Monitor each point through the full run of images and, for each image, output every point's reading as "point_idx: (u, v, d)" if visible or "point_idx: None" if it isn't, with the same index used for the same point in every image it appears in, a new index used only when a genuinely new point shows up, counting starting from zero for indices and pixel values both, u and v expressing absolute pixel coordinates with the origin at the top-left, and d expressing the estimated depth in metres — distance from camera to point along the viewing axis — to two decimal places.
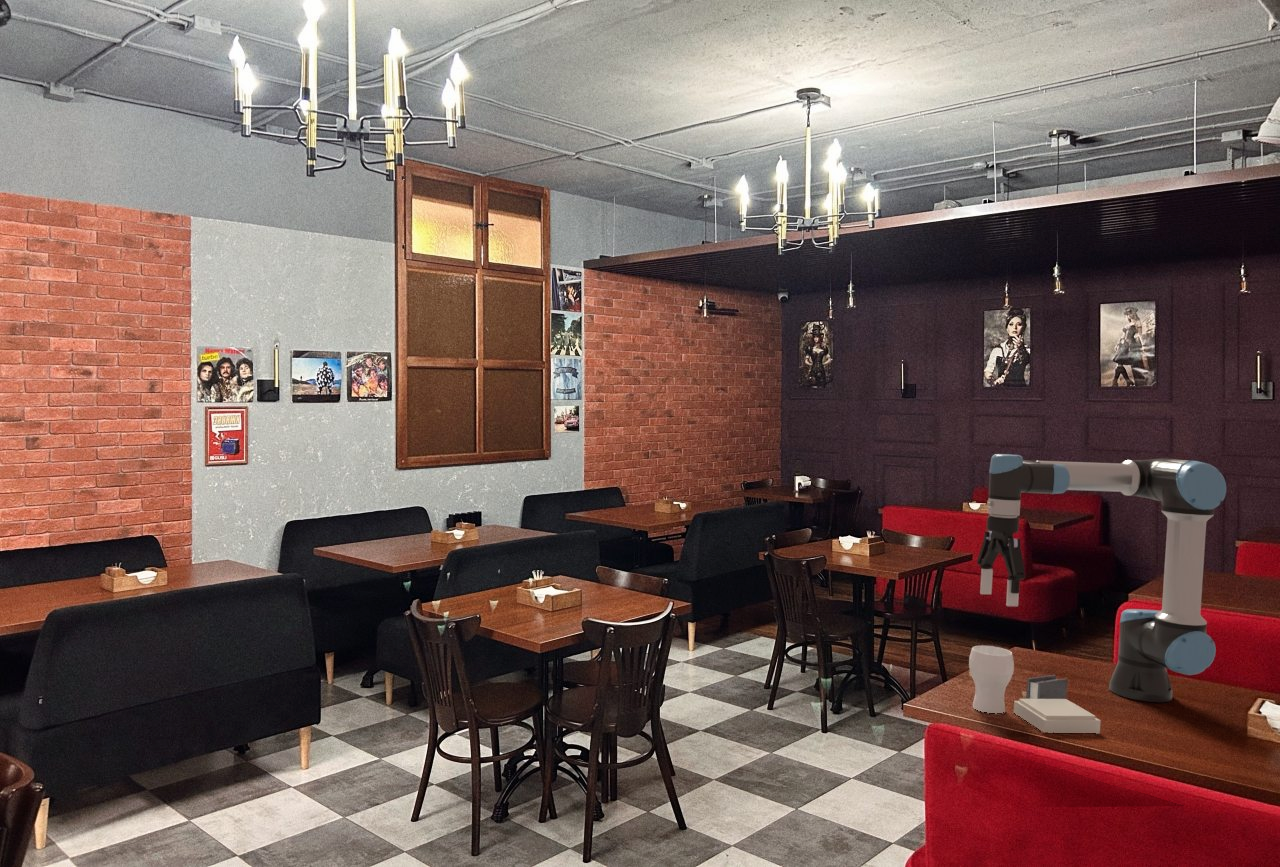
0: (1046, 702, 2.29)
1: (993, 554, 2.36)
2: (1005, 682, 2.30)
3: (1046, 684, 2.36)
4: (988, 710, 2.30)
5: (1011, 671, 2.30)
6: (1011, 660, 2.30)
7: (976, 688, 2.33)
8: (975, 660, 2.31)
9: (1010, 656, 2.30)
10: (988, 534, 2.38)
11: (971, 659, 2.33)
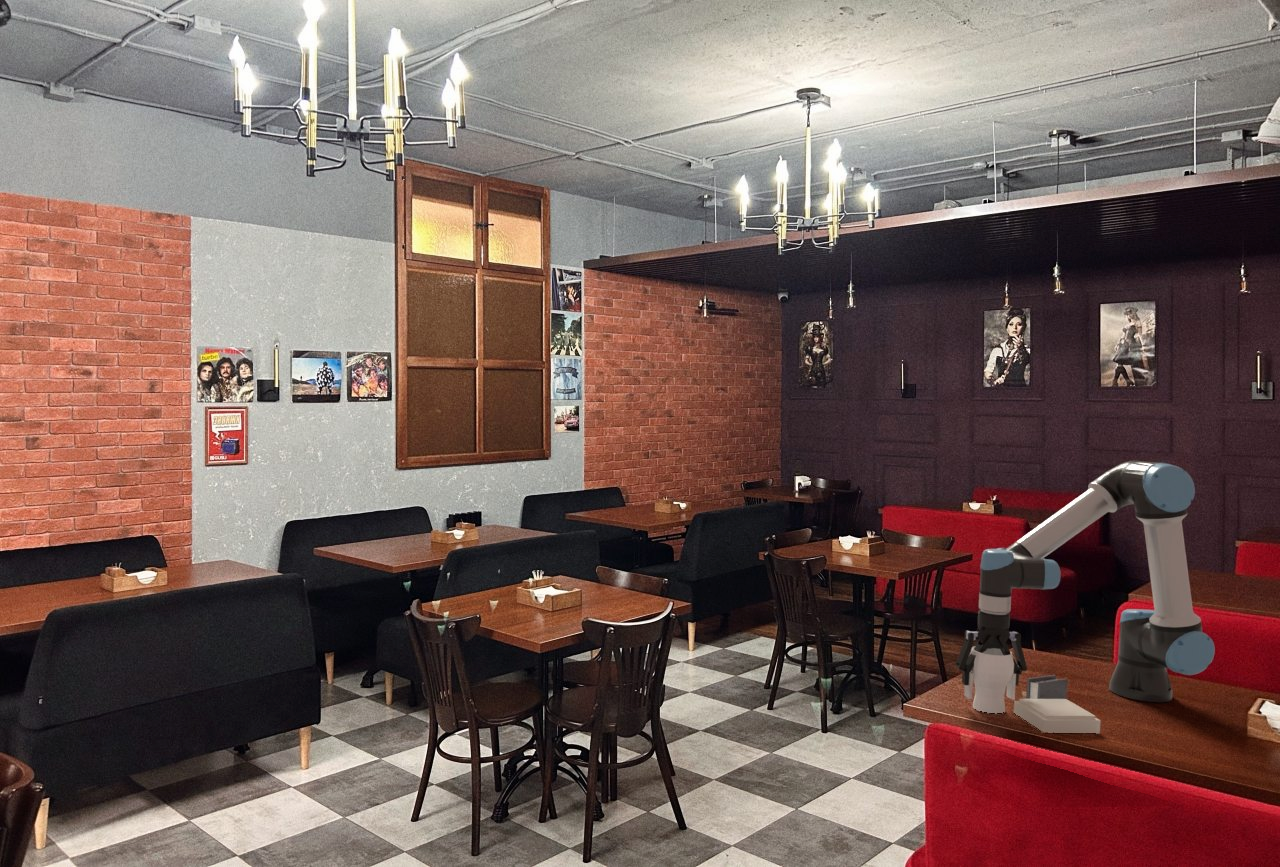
0: (1046, 702, 2.29)
1: (1004, 653, 2.34)
2: (1005, 682, 2.30)
3: (1046, 684, 2.36)
4: (988, 710, 2.30)
5: (1011, 671, 2.30)
6: (1011, 660, 2.30)
7: (976, 688, 2.33)
8: (975, 660, 2.31)
9: (1010, 656, 2.30)
10: None
11: None
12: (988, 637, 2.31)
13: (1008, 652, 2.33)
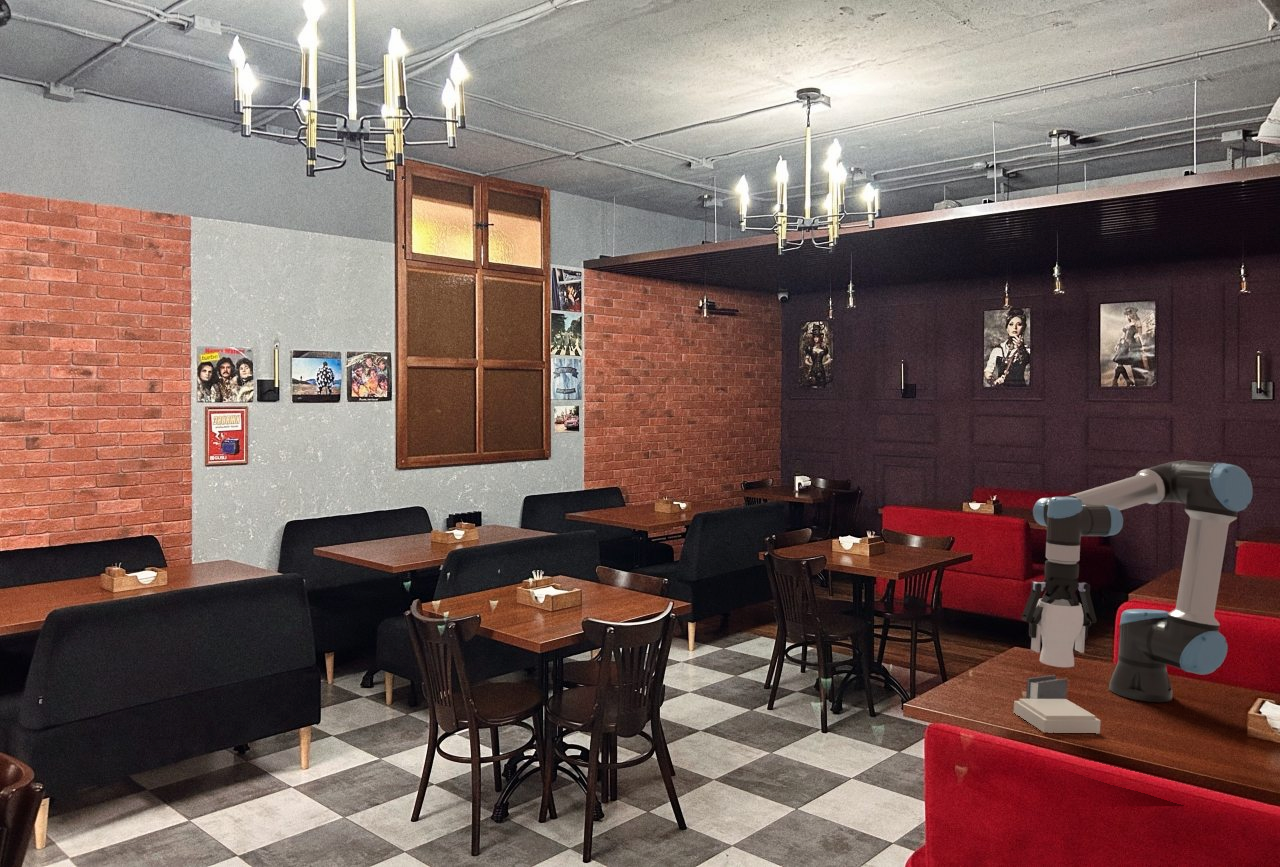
0: (1046, 702, 2.29)
1: (1072, 605, 2.25)
2: (1075, 634, 2.21)
3: (1046, 684, 2.36)
4: (1057, 663, 2.22)
5: (1081, 622, 2.21)
6: (1081, 611, 2.21)
7: (1043, 641, 2.25)
8: (1043, 612, 2.23)
9: (1080, 607, 2.21)
10: None
11: None
12: (1056, 588, 2.23)
13: (1077, 603, 2.24)
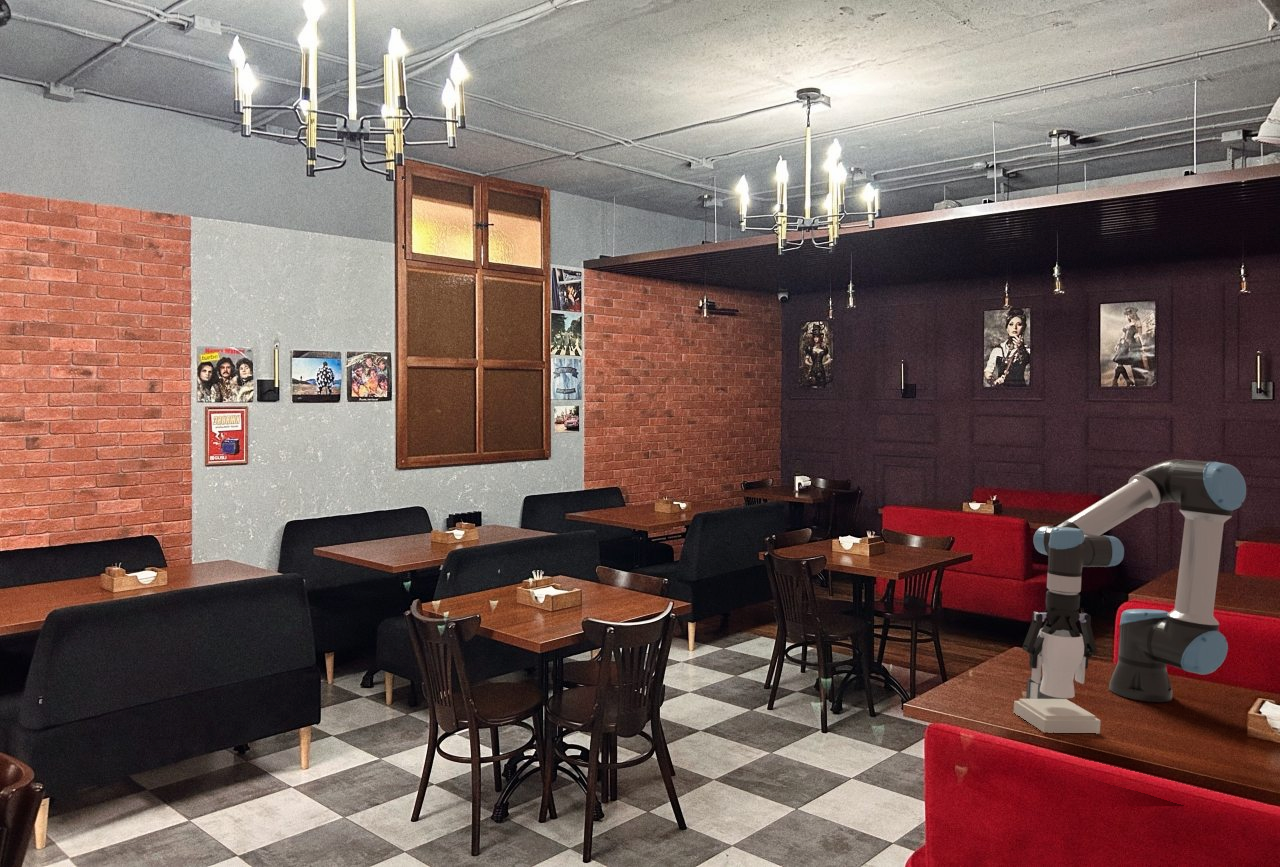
0: (1046, 702, 2.29)
1: (1073, 635, 2.25)
2: (1075, 665, 2.21)
3: None
4: (1057, 694, 2.21)
5: (1082, 654, 2.21)
6: (1082, 642, 2.21)
7: (1044, 671, 2.25)
8: (1044, 642, 2.23)
9: (1080, 638, 2.21)
10: None
11: None
12: (1057, 618, 2.23)
13: (1078, 634, 2.24)
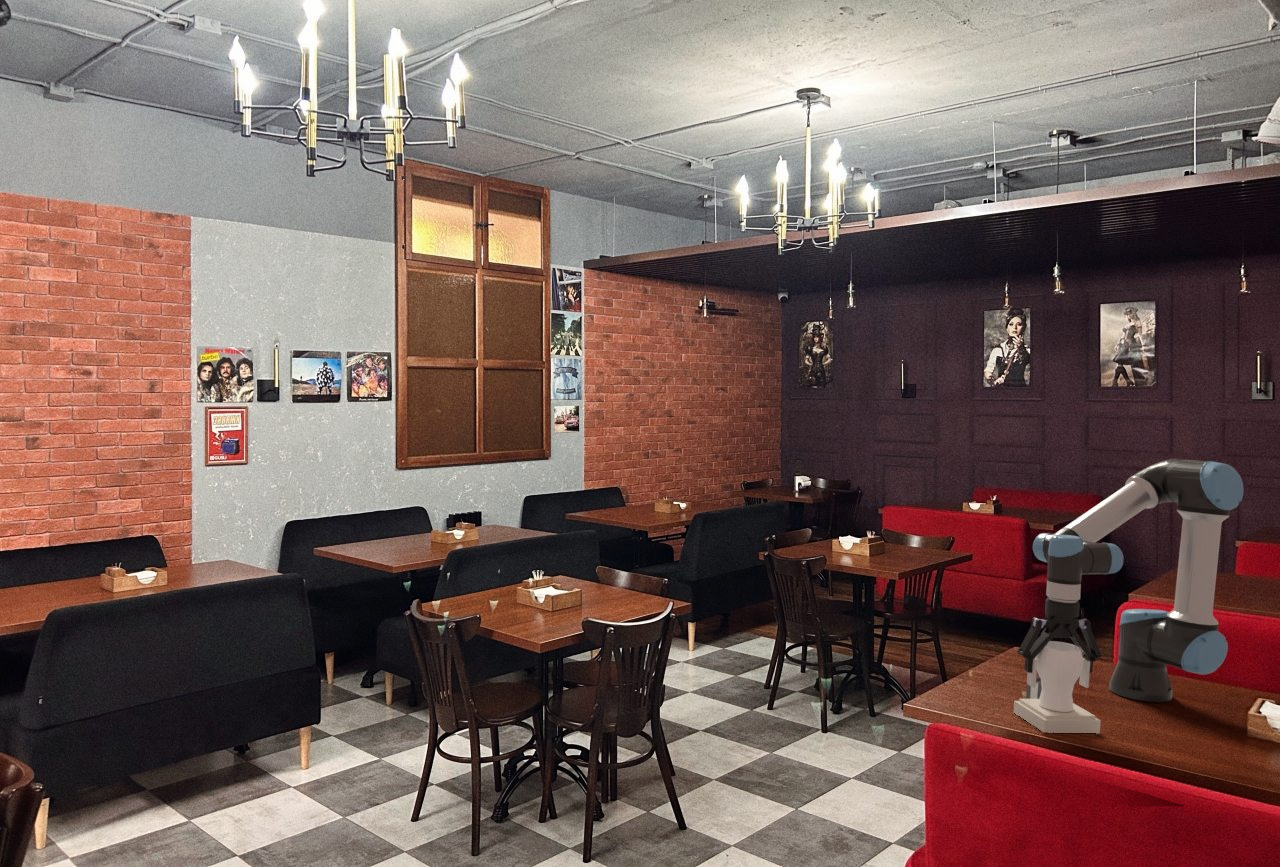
0: None
1: (1075, 642, 2.25)
2: (1074, 679, 2.21)
3: None
4: (1056, 708, 2.22)
5: (1080, 667, 2.21)
6: (1080, 656, 2.21)
7: (1043, 685, 2.25)
8: (1042, 656, 2.23)
9: (1079, 652, 2.21)
10: None
11: (1038, 655, 2.24)
12: (1057, 626, 2.23)
13: (1079, 640, 2.24)
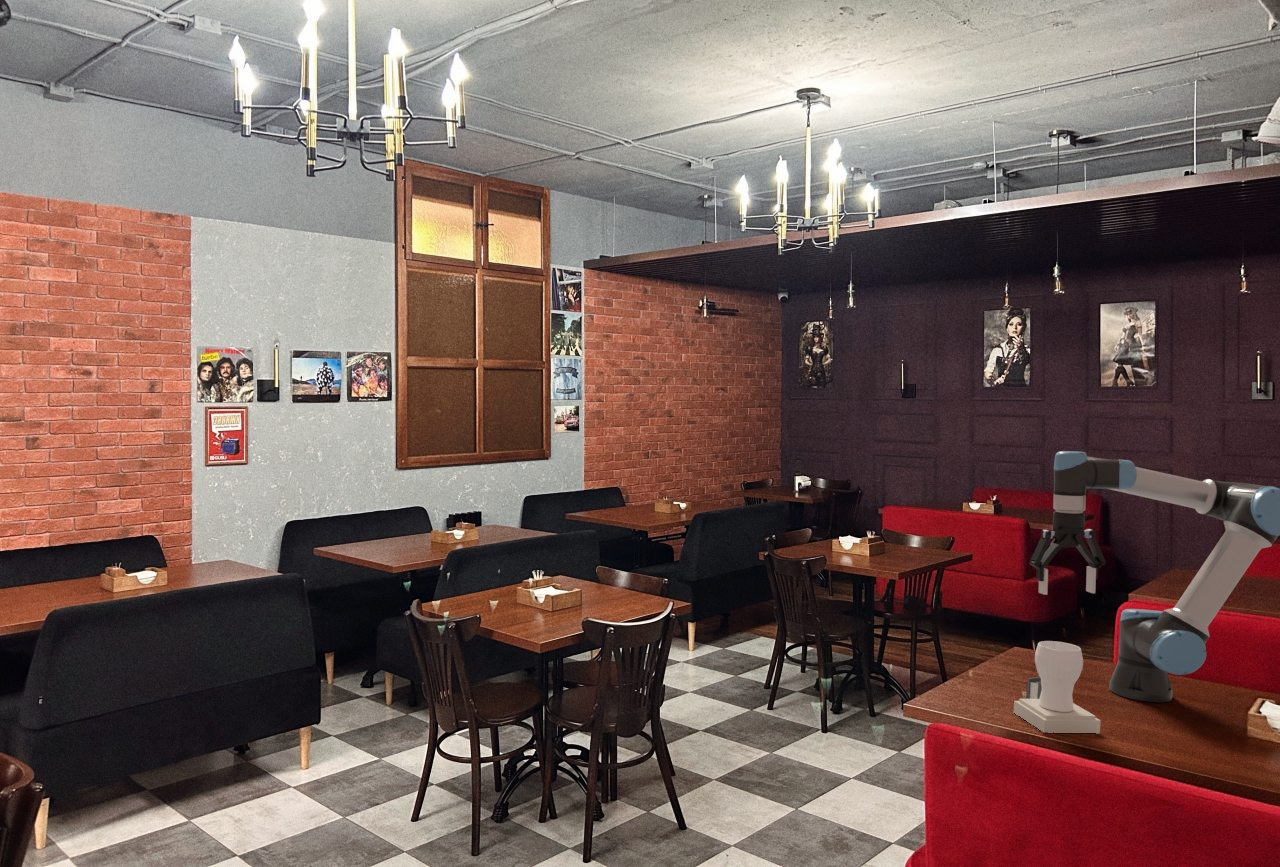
0: None
1: (1081, 551, 2.40)
2: (1074, 679, 2.21)
3: None
4: (1056, 708, 2.22)
5: (1080, 667, 2.21)
6: (1080, 656, 2.21)
7: (1043, 685, 2.25)
8: (1042, 656, 2.23)
9: (1079, 652, 2.21)
10: None
11: (1038, 655, 2.24)
12: (1065, 536, 2.37)
13: (1085, 549, 2.39)
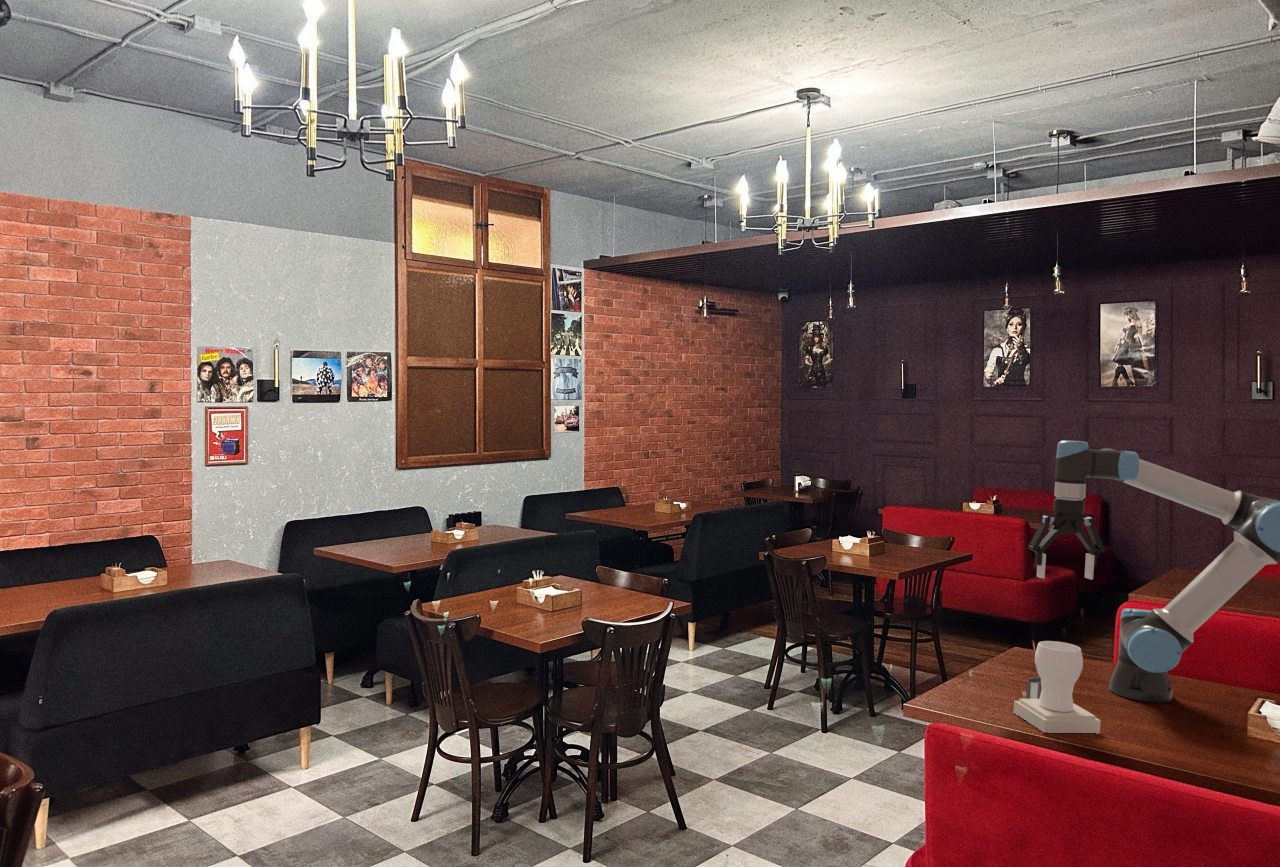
0: None
1: (1080, 538, 2.46)
2: (1074, 679, 2.21)
3: None
4: (1056, 708, 2.22)
5: (1080, 667, 2.21)
6: (1080, 656, 2.21)
7: (1043, 685, 2.25)
8: (1042, 656, 2.23)
9: (1079, 652, 2.21)
10: None
11: (1038, 655, 2.24)
12: (1064, 522, 2.44)
13: (1084, 536, 2.45)
